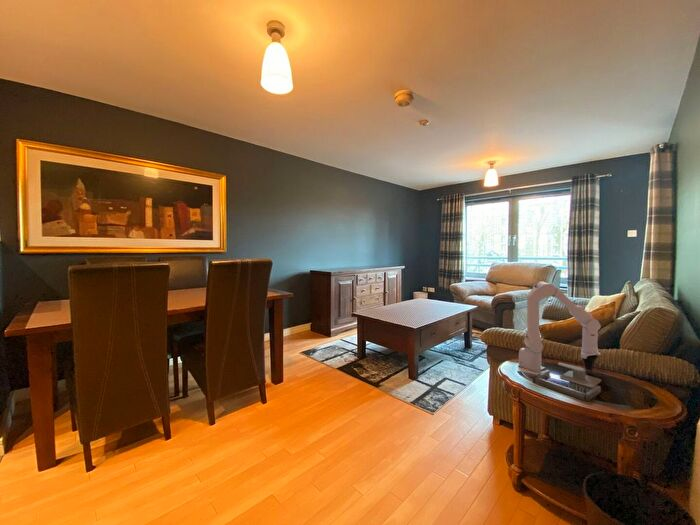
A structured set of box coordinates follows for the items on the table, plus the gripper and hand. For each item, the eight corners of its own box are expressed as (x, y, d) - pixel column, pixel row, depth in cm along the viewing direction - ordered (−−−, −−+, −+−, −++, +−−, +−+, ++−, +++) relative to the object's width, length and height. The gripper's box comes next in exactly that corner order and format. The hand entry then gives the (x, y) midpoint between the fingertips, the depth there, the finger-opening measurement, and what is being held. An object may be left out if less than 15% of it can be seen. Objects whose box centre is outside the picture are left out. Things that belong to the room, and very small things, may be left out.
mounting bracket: (532, 382, 132) (532, 376, 132) (546, 374, 139) (546, 369, 139) (587, 401, 115) (587, 395, 115) (600, 392, 122) (600, 386, 122)
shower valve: (563, 359, 144) (602, 369, 132) (563, 370, 145) (602, 381, 132) (552, 365, 137) (592, 377, 125) (552, 377, 138) (592, 389, 125)
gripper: (594, 347, 132) (593, 376, 133) (606, 341, 140) (605, 368, 141) (575, 343, 138) (575, 371, 139) (588, 337, 146) (587, 364, 147)
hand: (589, 369), depth 140 cm, fingers closed
